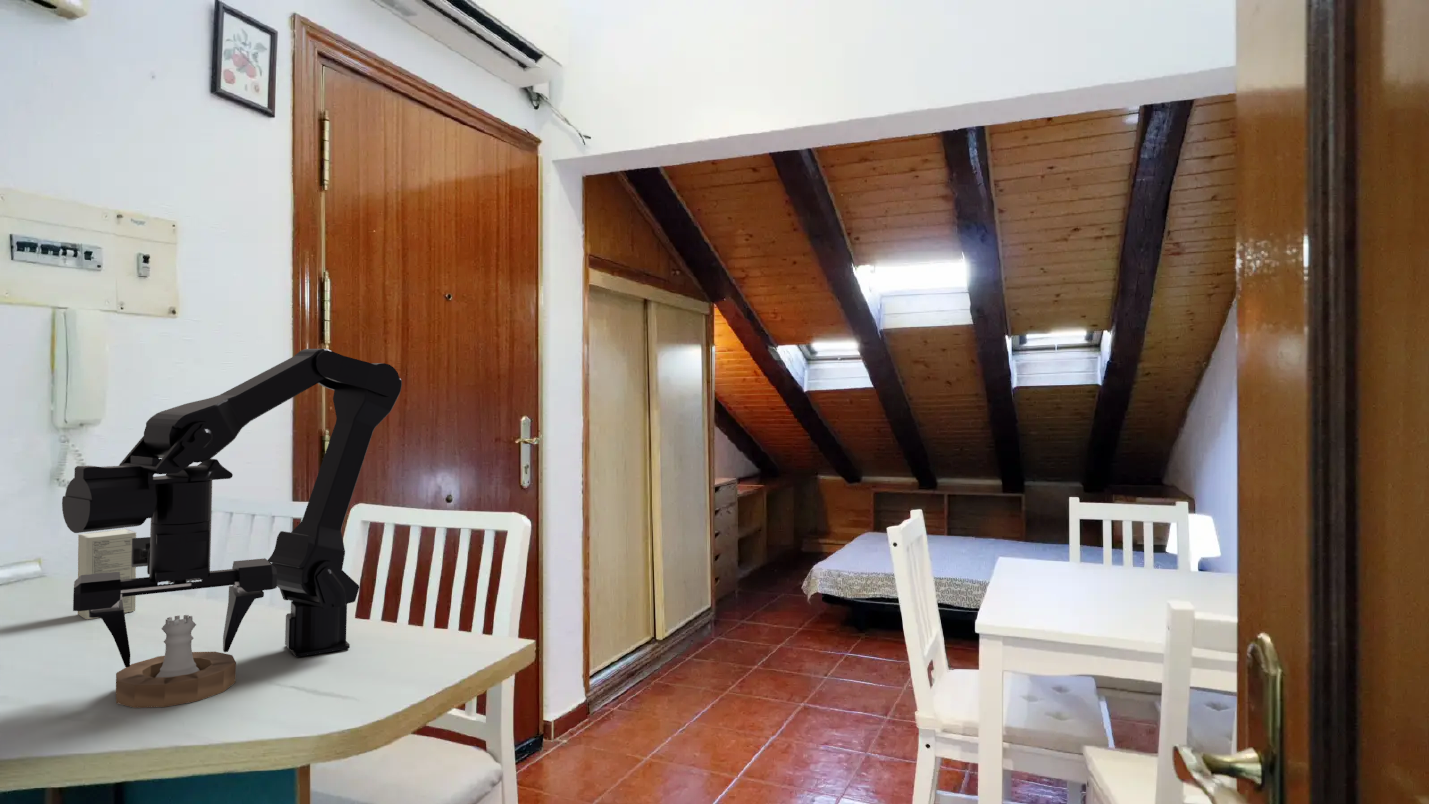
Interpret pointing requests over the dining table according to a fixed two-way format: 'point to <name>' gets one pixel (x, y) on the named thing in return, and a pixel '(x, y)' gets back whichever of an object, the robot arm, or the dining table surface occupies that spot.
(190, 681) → the walnut bead ring
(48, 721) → the dining table surface
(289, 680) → the dining table surface
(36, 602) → the dining table surface
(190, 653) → the rook chess piece
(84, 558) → the skincare box
